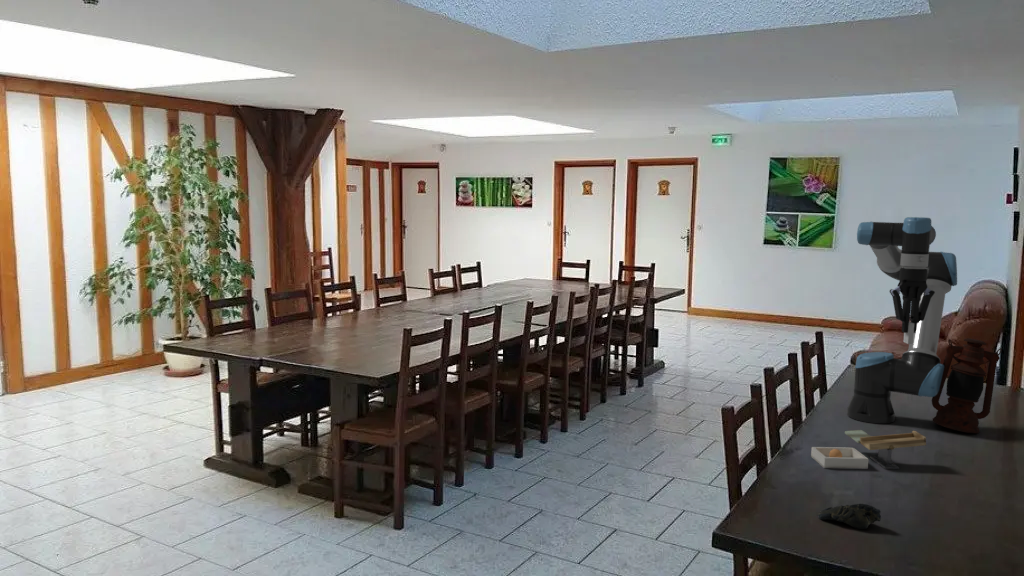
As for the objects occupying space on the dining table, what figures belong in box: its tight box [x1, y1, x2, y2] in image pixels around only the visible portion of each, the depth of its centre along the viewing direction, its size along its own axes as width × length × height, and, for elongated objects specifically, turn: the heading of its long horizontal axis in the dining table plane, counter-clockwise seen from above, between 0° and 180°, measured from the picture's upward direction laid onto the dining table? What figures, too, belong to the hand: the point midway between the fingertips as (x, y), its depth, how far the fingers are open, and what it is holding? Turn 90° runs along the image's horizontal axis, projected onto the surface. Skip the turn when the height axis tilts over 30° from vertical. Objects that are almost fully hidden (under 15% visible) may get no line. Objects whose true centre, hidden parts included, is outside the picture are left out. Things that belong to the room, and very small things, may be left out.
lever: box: [844, 429, 927, 451], centre depth 213 cm, size 16×16×2 cm
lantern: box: [931, 337, 1003, 434], centre depth 241 cm, size 17×14×30 cm
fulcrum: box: [869, 448, 900, 470], centre depth 210 cm, size 9×4×5 cm, turn 179°
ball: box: [829, 449, 842, 458], centre depth 210 cm, size 4×4×4 cm
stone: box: [817, 503, 882, 530], centre depth 170 cm, size 7×13×5 cm, turn 66°
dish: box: [810, 446, 869, 470], centre depth 210 cm, size 9×12×3 cm
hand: (908, 342), depth 224 cm, fingers closed
